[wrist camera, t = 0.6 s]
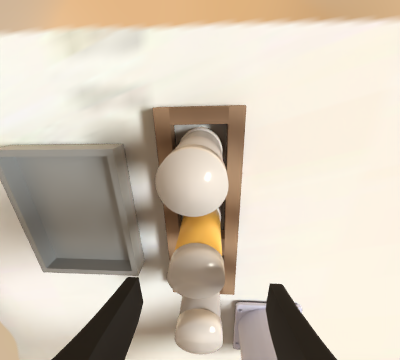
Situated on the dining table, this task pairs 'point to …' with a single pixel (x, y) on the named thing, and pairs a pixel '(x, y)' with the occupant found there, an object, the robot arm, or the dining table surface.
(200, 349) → the cylinder
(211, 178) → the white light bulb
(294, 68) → the dining table surface
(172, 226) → the brown wooden rack
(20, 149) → the tray
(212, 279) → the amber fuse
